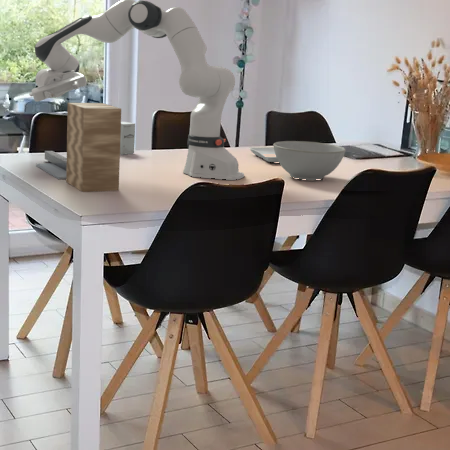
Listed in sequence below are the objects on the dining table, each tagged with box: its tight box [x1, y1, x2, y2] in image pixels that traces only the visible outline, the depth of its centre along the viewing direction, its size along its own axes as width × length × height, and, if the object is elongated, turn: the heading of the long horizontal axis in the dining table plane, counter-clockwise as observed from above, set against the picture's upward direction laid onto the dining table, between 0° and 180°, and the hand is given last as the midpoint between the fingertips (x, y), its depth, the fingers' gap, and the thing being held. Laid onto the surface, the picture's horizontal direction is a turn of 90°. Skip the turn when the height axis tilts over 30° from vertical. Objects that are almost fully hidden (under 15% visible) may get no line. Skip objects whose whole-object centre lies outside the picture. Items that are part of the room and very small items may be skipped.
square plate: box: [248, 146, 279, 163], centre depth 337 cm, size 27×27×4 cm
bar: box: [44, 150, 67, 171], centre depth 284 cm, size 30×3×3 cm, turn 29°
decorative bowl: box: [272, 140, 346, 180], centre depth 295 cm, size 27×27×12 cm
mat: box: [35, 162, 67, 180], centre depth 278 cm, size 26×14×1 cm, turn 29°
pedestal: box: [65, 102, 122, 193], centre depth 253 cm, size 16×12×26 cm
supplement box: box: [120, 121, 136, 156], centre depth 325 cm, size 7×7×13 cm
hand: (64, 91), depth 284 cm, fingers open, 8 cm apart
